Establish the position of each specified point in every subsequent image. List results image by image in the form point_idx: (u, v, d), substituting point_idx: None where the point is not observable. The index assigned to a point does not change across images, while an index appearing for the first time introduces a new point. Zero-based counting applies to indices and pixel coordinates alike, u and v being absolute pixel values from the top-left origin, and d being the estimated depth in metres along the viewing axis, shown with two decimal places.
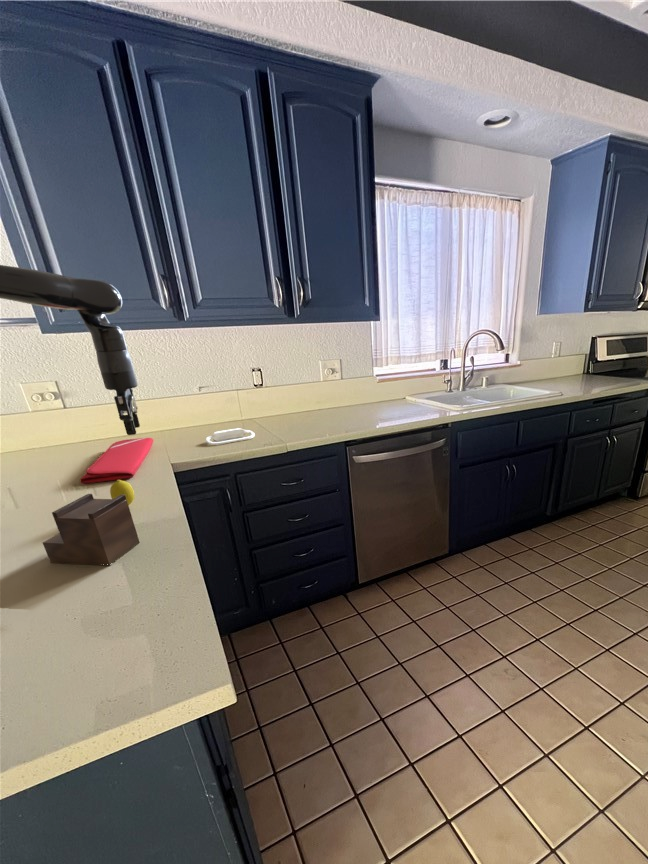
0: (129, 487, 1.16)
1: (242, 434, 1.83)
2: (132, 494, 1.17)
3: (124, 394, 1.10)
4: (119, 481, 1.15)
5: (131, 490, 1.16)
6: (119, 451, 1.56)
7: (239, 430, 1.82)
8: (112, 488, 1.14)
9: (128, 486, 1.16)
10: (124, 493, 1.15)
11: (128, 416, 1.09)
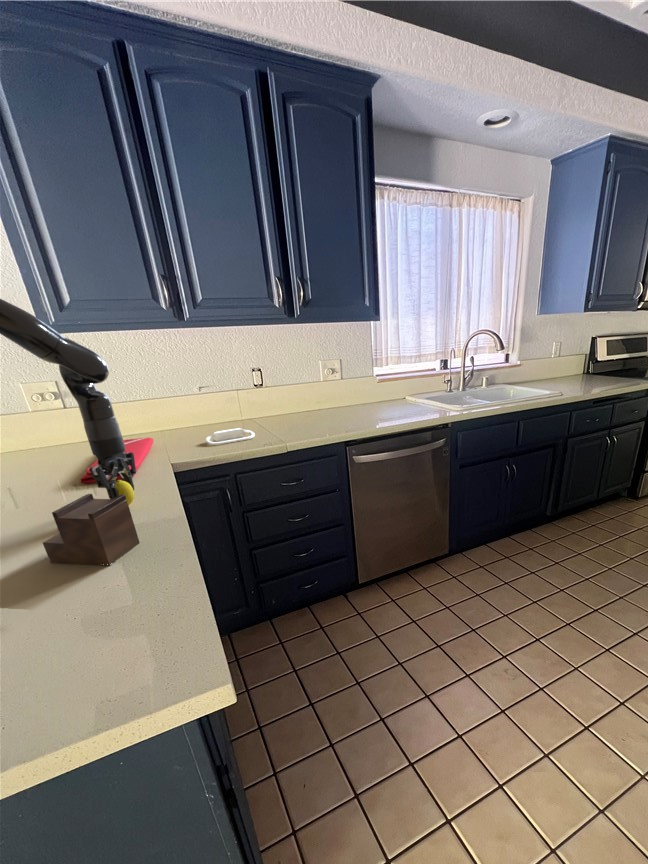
0: (129, 487, 1.16)
1: (242, 434, 1.83)
2: (132, 494, 1.17)
3: (103, 462, 1.09)
4: (119, 481, 1.15)
5: (131, 490, 1.16)
6: None
7: (239, 430, 1.82)
8: None
9: (128, 486, 1.16)
10: (124, 493, 1.15)
11: (104, 486, 1.09)
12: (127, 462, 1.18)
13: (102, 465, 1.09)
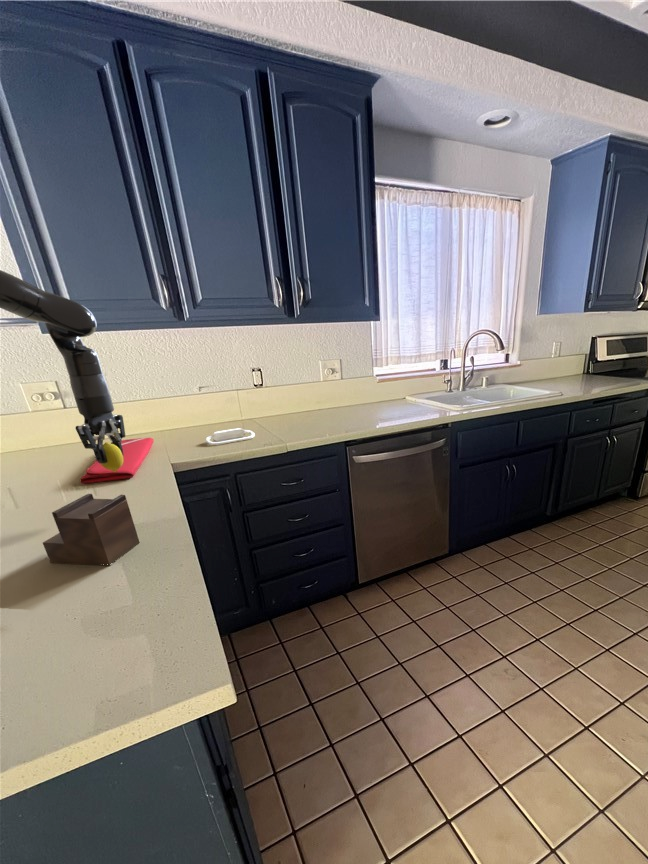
0: (118, 450, 1.11)
1: (242, 434, 1.83)
2: (121, 458, 1.12)
3: (90, 421, 1.04)
4: (107, 443, 1.10)
5: (120, 453, 1.12)
6: None
7: (239, 430, 1.82)
8: None
9: (117, 449, 1.11)
10: (112, 456, 1.10)
11: (91, 446, 1.05)
12: (116, 425, 1.14)
13: (89, 424, 1.04)
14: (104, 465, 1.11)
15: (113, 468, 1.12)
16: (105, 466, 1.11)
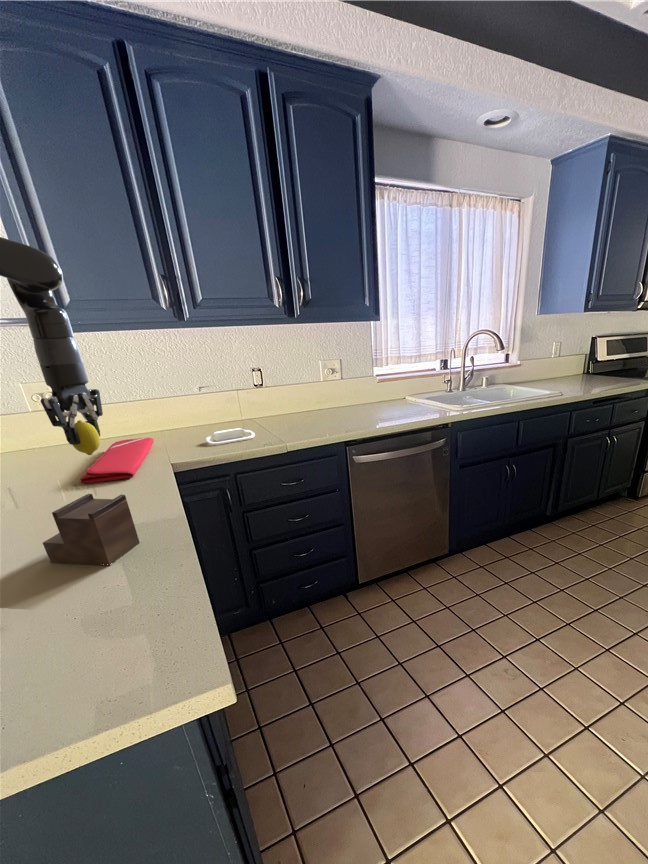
0: (93, 430, 0.95)
1: (242, 434, 1.83)
2: (97, 439, 0.96)
3: (58, 394, 0.88)
4: (80, 422, 0.94)
5: (95, 434, 0.96)
6: (119, 451, 1.56)
7: (239, 430, 1.82)
8: None
9: (92, 428, 0.95)
10: (86, 436, 0.94)
11: (60, 423, 0.89)
12: (91, 401, 0.98)
13: (57, 397, 0.88)
14: (77, 447, 0.94)
15: (88, 451, 0.95)
16: (78, 448, 0.94)
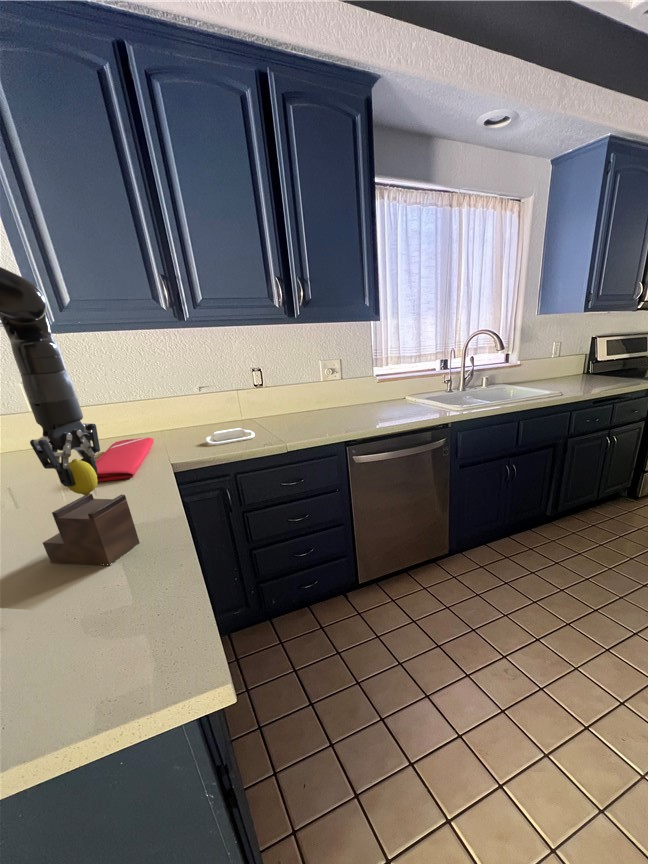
0: (89, 469, 0.87)
1: (242, 434, 1.83)
2: (94, 478, 0.88)
3: (50, 434, 0.80)
4: (75, 461, 0.86)
5: (92, 473, 0.87)
6: (119, 451, 1.56)
7: (239, 430, 1.82)
8: None
9: (88, 467, 0.87)
10: (82, 477, 0.86)
11: (52, 466, 0.80)
12: (87, 436, 0.89)
13: (49, 437, 0.80)
14: (72, 488, 0.86)
15: (84, 492, 0.87)
16: (73, 490, 0.86)
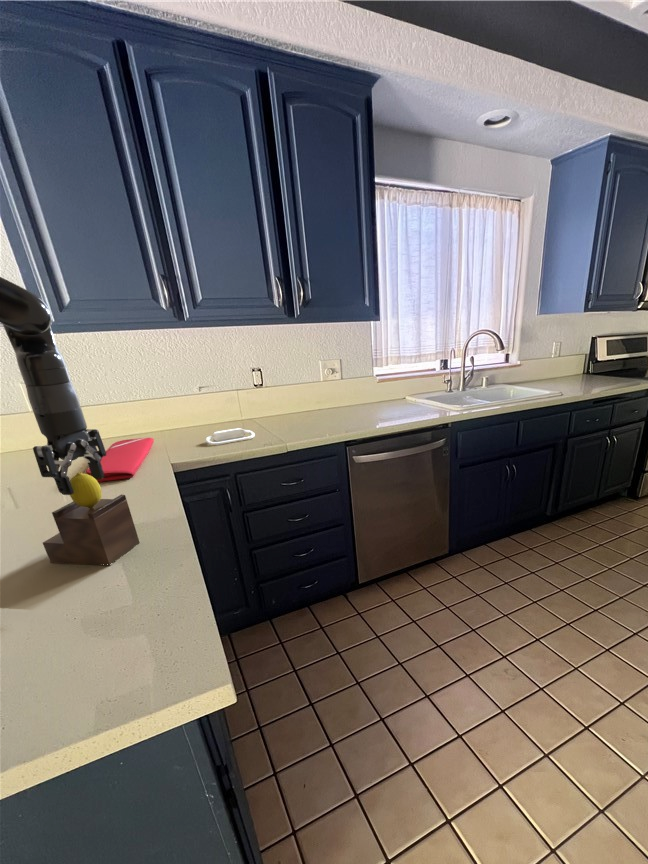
0: (94, 482, 0.88)
1: (242, 434, 1.83)
2: (98, 492, 0.89)
3: (54, 443, 0.81)
4: (80, 474, 0.87)
5: (97, 486, 0.89)
6: (119, 451, 1.56)
7: (239, 430, 1.82)
8: None
9: (92, 481, 0.88)
10: (87, 490, 0.87)
11: (50, 474, 0.80)
12: (92, 442, 0.90)
13: (53, 448, 0.81)
14: (77, 502, 0.87)
15: (88, 505, 0.89)
16: (78, 503, 0.88)
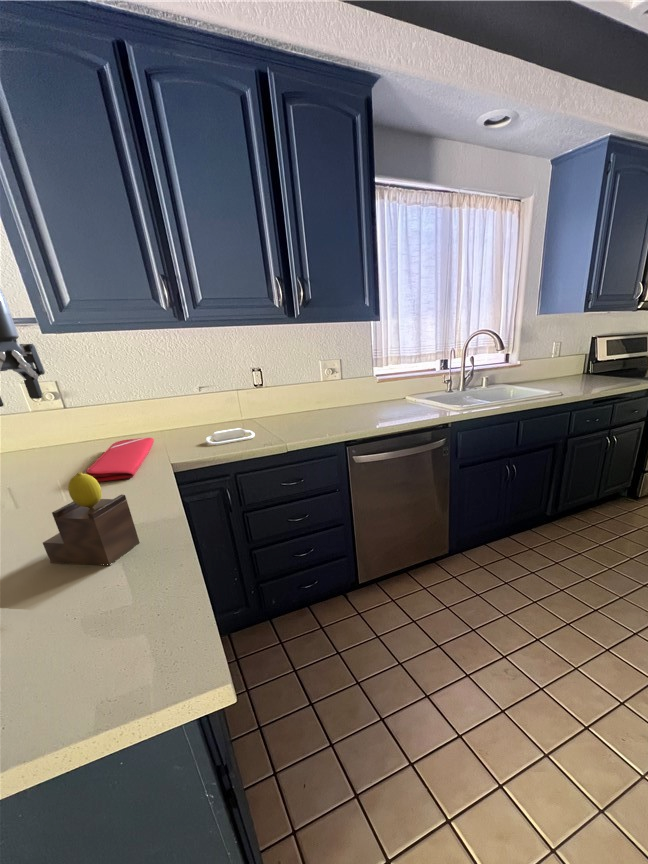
0: (94, 482, 0.88)
1: (242, 434, 1.83)
2: (98, 492, 0.89)
3: None
4: (80, 474, 0.87)
5: (97, 486, 0.89)
6: (119, 451, 1.56)
7: (239, 430, 1.82)
8: (70, 484, 0.86)
9: (92, 481, 0.88)
10: (87, 490, 0.87)
11: None
12: (28, 358, 0.86)
13: None
14: (77, 502, 0.87)
15: (88, 505, 0.89)
16: (78, 503, 0.88)
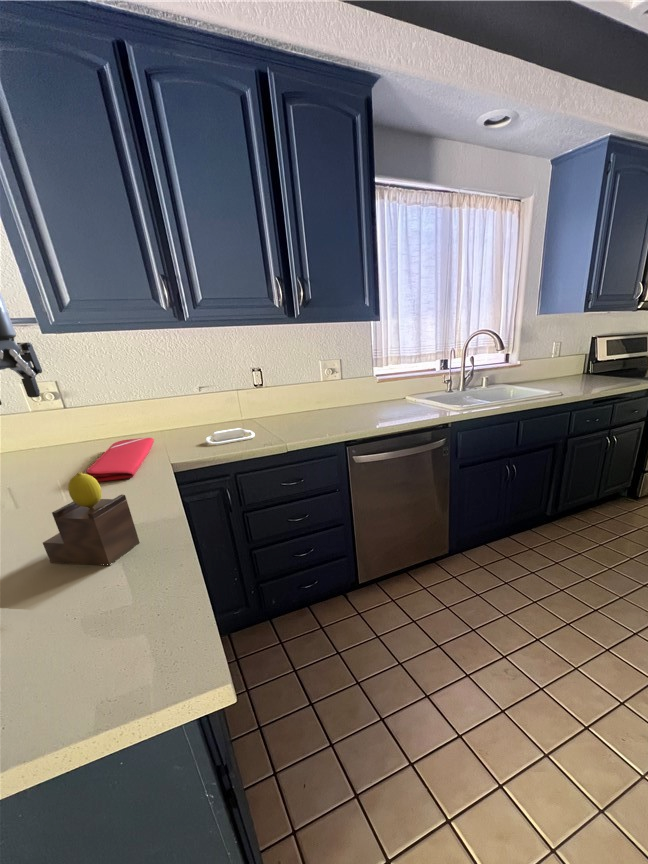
0: (94, 482, 0.88)
1: (242, 434, 1.83)
2: (98, 492, 0.89)
3: None
4: (80, 474, 0.87)
5: (97, 486, 0.89)
6: (119, 451, 1.56)
7: (239, 430, 1.82)
8: (70, 484, 0.86)
9: (92, 481, 0.88)
10: (87, 490, 0.87)
11: None
12: (26, 357, 0.86)
13: None
14: (77, 502, 0.87)
15: (88, 505, 0.89)
16: (78, 503, 0.88)
